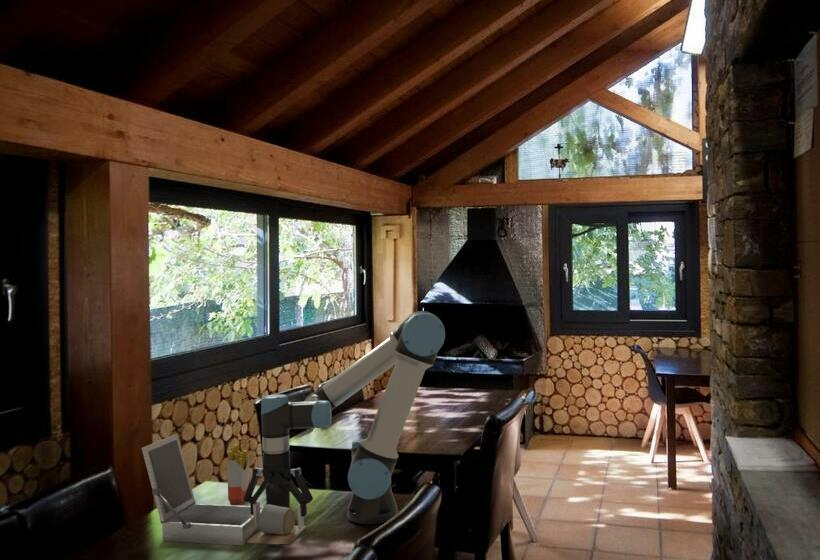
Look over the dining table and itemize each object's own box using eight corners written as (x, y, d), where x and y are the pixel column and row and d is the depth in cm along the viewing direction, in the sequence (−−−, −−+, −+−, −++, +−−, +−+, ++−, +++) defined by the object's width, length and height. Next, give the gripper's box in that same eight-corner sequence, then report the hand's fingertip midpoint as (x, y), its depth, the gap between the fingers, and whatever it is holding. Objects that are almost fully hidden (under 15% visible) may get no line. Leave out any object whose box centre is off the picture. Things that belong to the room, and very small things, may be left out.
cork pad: (306, 528, 199) (306, 526, 199) (289, 545, 187) (289, 542, 187) (267, 526, 202) (267, 524, 202) (247, 542, 189) (247, 540, 189)
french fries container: (251, 496, 231) (250, 442, 231) (242, 506, 220) (240, 450, 220) (237, 496, 231) (236, 442, 231) (228, 507, 220) (226, 450, 220)
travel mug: (295, 505, 220) (294, 442, 220) (278, 512, 213) (277, 448, 213) (277, 502, 224) (276, 440, 224) (260, 509, 217) (259, 445, 218)
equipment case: (268, 523, 204) (266, 435, 204) (240, 547, 186) (238, 450, 186) (176, 519, 210) (174, 433, 210) (140, 541, 192) (138, 448, 192)
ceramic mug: (285, 539, 189) (285, 510, 189) (258, 536, 191) (258, 508, 192) (301, 526, 199) (301, 499, 200) (276, 524, 202) (275, 497, 202)
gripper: (322, 447, 195) (325, 523, 195) (241, 446, 200) (244, 520, 200) (313, 454, 188) (316, 533, 188) (229, 453, 193) (232, 530, 193)
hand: (279, 527), depth 194 cm, fingers open, 12 cm apart
